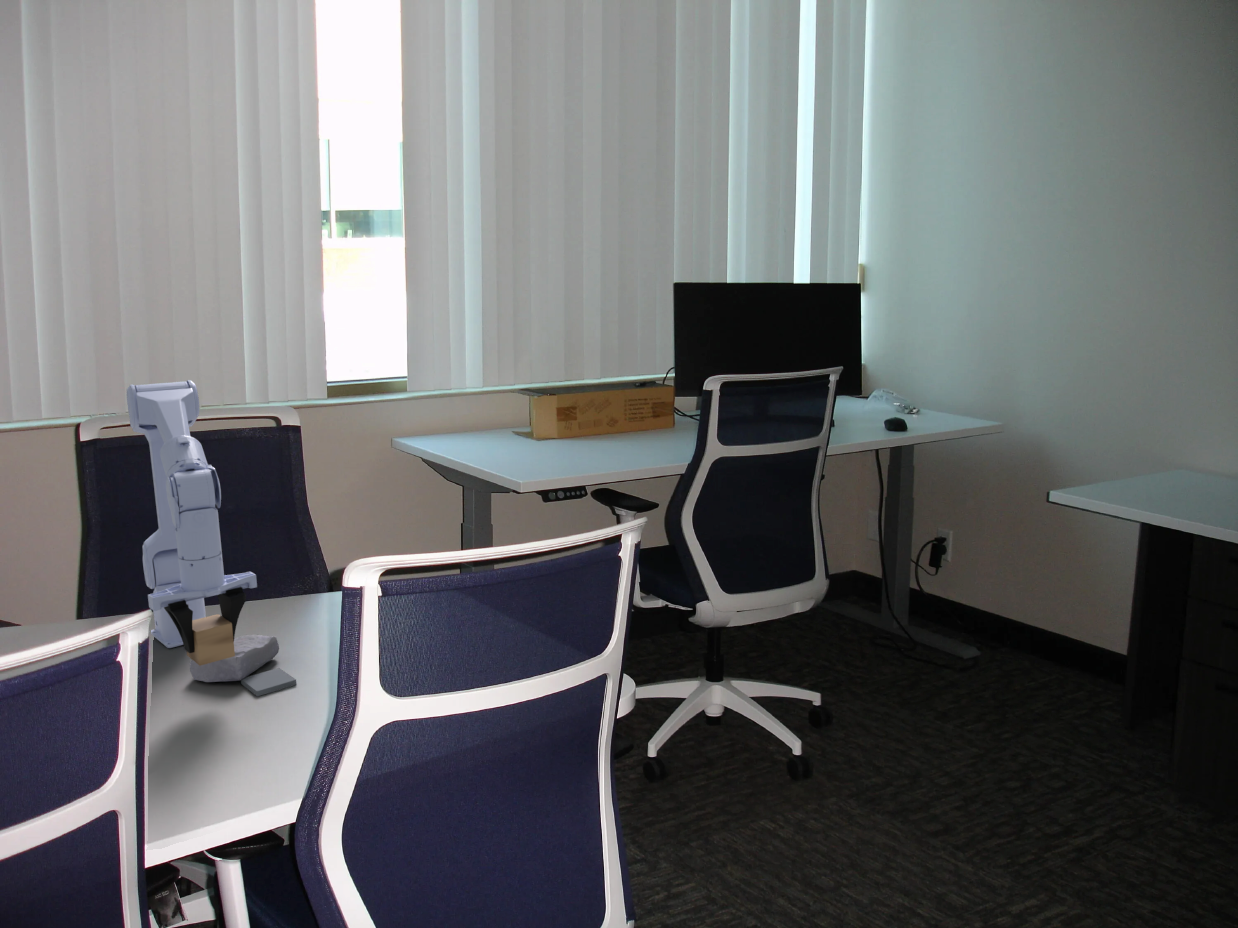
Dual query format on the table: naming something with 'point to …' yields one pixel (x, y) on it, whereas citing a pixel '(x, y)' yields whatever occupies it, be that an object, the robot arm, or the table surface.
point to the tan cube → (212, 639)
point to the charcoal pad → (268, 681)
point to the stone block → (238, 660)
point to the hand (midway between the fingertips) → (209, 645)
